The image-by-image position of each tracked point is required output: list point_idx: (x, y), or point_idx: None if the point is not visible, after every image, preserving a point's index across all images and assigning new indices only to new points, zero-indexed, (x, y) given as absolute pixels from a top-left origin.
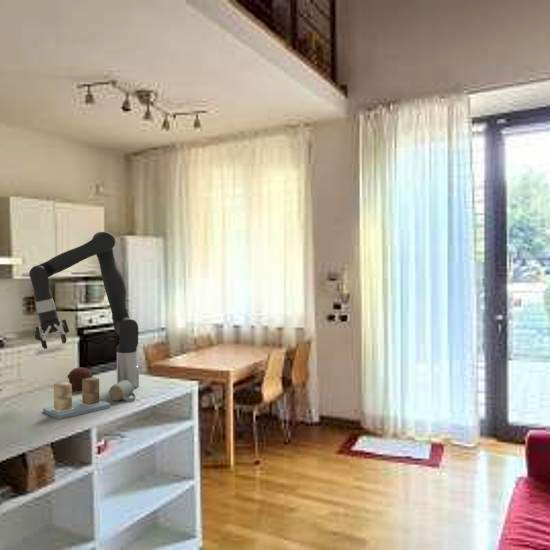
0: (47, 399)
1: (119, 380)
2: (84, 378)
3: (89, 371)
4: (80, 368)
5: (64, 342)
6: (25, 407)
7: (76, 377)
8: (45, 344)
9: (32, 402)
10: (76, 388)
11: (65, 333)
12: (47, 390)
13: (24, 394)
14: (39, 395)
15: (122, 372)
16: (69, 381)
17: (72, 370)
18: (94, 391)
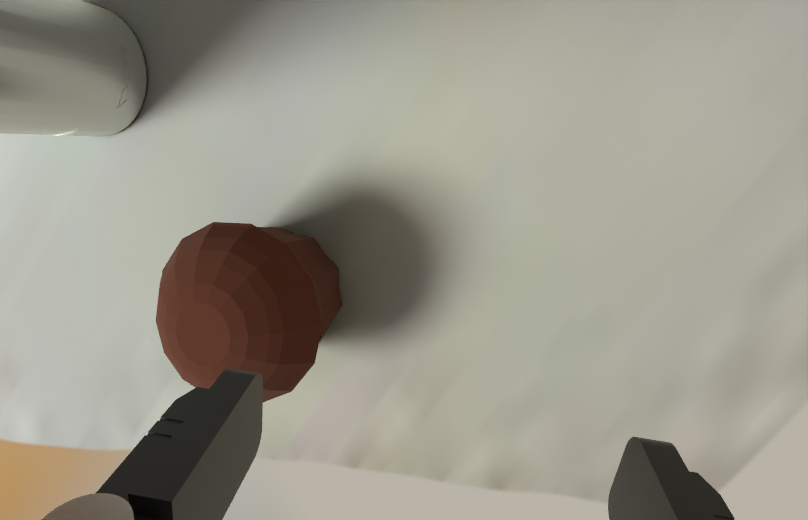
0: (562, 255)
1: (100, 59)
2: (259, 229)
3: (177, 260)
4: (206, 322)
5: (253, 375)
6: (797, 202)
7: (298, 268)
8: (697, 506)
9: (671, 276)
10: (325, 263)
11: (55, 510)
12: (418, 436)
13: (558, 484)
14: (523, 383)
15: (34, 15)
16: (326, 328)
17: (259, 363)
18: None
